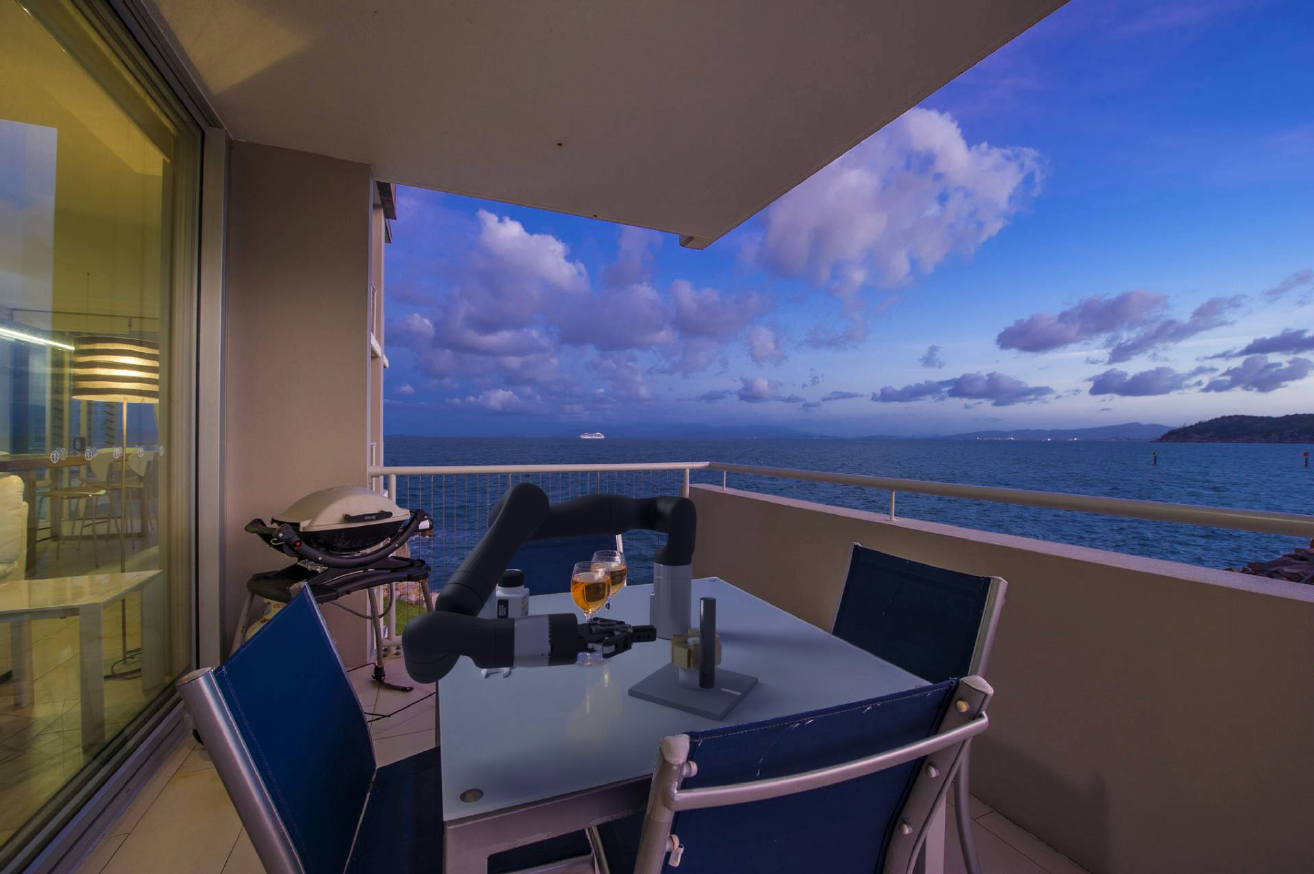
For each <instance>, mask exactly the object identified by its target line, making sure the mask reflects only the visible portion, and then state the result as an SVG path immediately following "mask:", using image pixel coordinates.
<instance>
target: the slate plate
mask: <svg viewBox="0 0 1314 874" xmlns="http://www.w3.org/2000/svg"><path fill="white" fill-rule="evenodd" d="M693 640H700V638H699V637H691V638H688V639H687V644H690V645H693ZM758 683H759V677H756V676H752V675H749V674H745V673H741V672H735V671H732V670H727V669H725V668H724V669H723V668H720V667H715V687H714V688H713V690H702V688H701V687H700V686H699V680H698V677H697V675H696V672H695V670H690V668H688V669H685V668H682V667H679V666H676V665H674V663H672V662H671V661H669V662H668V663H666V664H665V665H664V666H662V667H660V668H659V669H657V670H656V671H654V672H653V673H651V674H649V675H648V676H647V677H645V678H644V679H642V680H640V681H638V682H637V683H636V684H634V685H632V686H631V687H630V688H628V689H627V696H631V697H634V698H638V699H640V700H641V699H642V700H643V701H644V700H645V701H649V702H652V703H656V704H659V705H662V706H665V705H666V707H669V708H672V707H673V709H675V710H679V711H683V710H684V711H683V712H687V713H690V714H693V715H697V716H701V717H703V716H704V717H705V718H707V719H710V720H714V721H716V722H717V721H719V722H720V721H721V720H722V719H723V718H724V716H727V714H728V713H729V712H730V711H731V710H732V709H733V708H734V707H735V706H736V705H737V704H738V703H739V702H740V701H741V700H742V699H744V697H745V696H747V694H749V692H750V691H752V689H753V688H755V687H756V685H758Z"/></svg>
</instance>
